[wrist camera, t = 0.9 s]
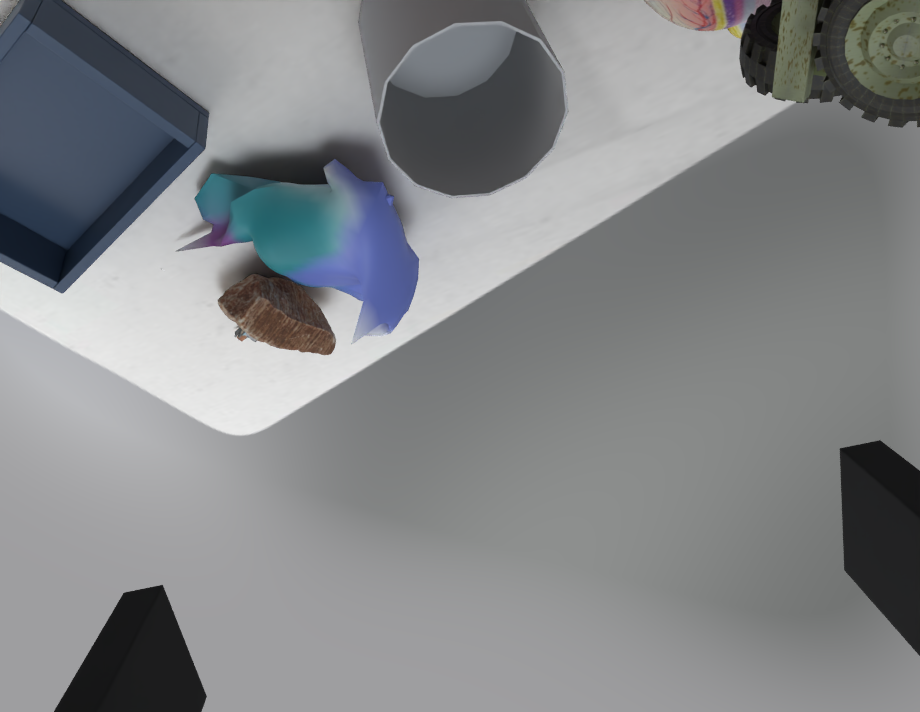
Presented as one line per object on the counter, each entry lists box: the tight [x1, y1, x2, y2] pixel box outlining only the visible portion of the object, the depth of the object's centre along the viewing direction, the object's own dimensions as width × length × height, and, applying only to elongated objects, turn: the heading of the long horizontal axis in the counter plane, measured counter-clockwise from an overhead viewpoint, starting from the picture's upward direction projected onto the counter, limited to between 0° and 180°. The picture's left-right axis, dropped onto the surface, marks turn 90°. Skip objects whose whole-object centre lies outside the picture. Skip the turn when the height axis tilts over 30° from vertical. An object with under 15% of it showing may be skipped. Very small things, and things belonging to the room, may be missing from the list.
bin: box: [0, 0, 209, 293], centre depth 40 cm, size 10×13×4 cm
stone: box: [218, 274, 336, 355], centre depth 49 cm, size 7×6×5 cm
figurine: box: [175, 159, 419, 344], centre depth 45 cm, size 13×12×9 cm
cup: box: [359, 0, 568, 198], centre depth 37 cm, size 8×8×10 cm
